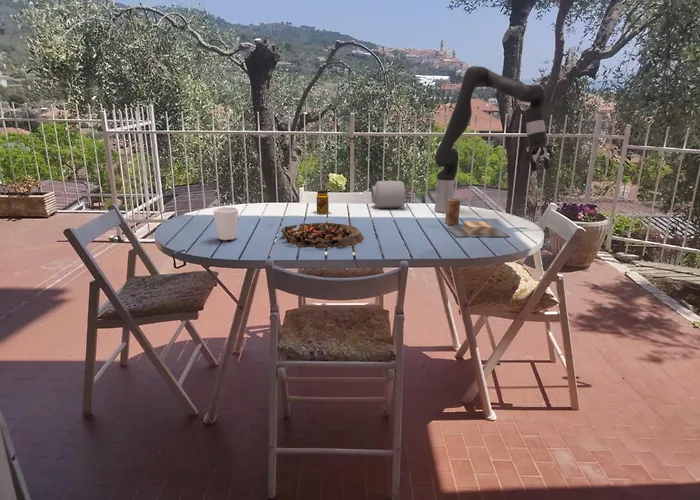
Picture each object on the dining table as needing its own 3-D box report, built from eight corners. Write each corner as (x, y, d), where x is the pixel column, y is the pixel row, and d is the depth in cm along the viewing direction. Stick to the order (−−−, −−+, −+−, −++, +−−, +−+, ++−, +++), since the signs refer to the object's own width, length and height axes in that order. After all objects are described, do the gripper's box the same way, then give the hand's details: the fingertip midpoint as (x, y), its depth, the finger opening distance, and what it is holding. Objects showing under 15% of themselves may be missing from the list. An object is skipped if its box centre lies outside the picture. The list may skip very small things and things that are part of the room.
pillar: (447, 225, 232) (449, 200, 228) (445, 223, 237) (446, 198, 233) (458, 225, 232) (460, 200, 229) (455, 223, 237) (457, 198, 234)
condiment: (318, 215, 249) (318, 191, 246) (313, 211, 257) (312, 188, 253) (331, 214, 252) (331, 190, 248) (326, 210, 259) (326, 188, 256)
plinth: (455, 237, 212) (456, 228, 211) (445, 228, 227) (446, 219, 226) (509, 237, 214) (510, 228, 212) (496, 228, 229) (497, 219, 228)
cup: (227, 244, 197) (225, 213, 193) (210, 240, 202) (208, 210, 198) (244, 238, 205) (243, 208, 201) (227, 235, 210) (226, 205, 206)
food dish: (266, 246, 199) (265, 228, 197) (303, 229, 228) (302, 213, 226) (346, 254, 186) (346, 234, 184) (374, 235, 216) (374, 218, 214)
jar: (405, 204, 255) (358, 196, 256) (401, 220, 268) (356, 212, 268) (409, 176, 265) (363, 168, 266) (404, 193, 278) (361, 186, 278)
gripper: (539, 133, 217) (543, 169, 219) (518, 135, 210) (522, 173, 211) (554, 129, 210) (558, 167, 212) (532, 131, 203) (537, 170, 205)
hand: (540, 170), depth 212 cm, fingers open, 8 cm apart
